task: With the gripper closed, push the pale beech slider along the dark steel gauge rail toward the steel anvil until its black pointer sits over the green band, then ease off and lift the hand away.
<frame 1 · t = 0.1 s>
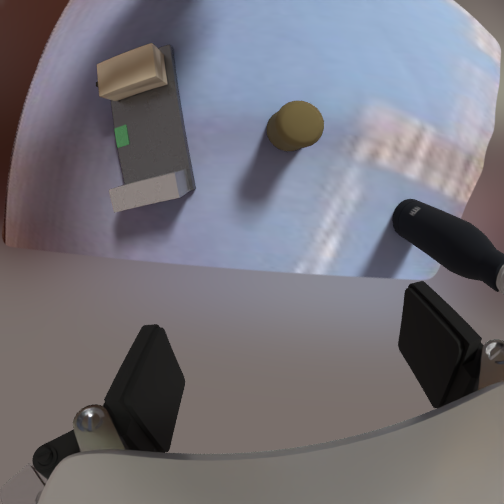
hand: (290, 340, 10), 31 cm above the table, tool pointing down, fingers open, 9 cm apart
black water bottle: (408, 217, 40), on the table
olive brown pawn: (288, 130, 36), on the table
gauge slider: (128, 74, 29), point 4 cm above the table, slide at 0.0 cm
gauge rail: (149, 122, 35), on the table
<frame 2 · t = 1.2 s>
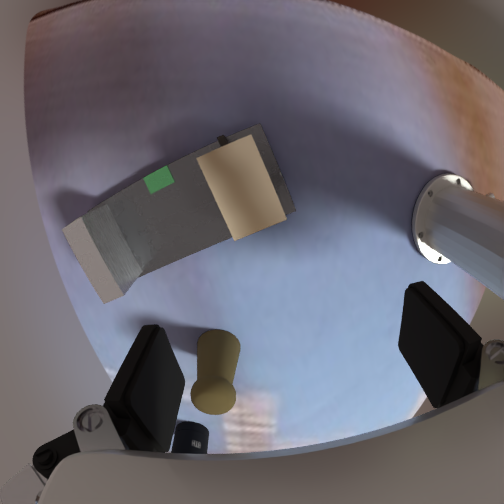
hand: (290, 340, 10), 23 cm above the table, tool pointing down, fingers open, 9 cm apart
black water bottle: (192, 429, 45), on the table
olive brown pawn: (218, 345, 38), on the table
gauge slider: (240, 180, 26), point 4 cm above the table, slide at 0.0 cm
gauge rail: (185, 206, 31), on the table
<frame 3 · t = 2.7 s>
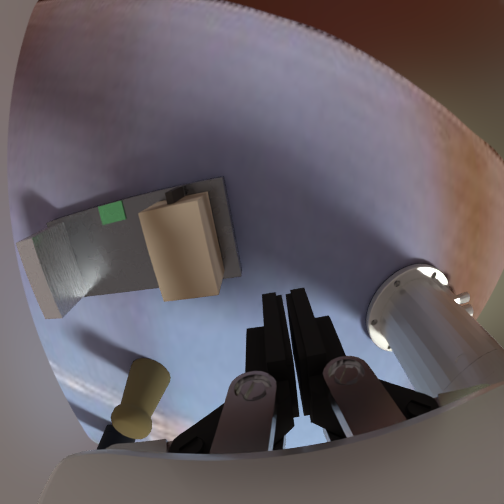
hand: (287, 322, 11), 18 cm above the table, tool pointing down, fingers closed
black water bottle: (120, 432, 43), on the table
olive brown pawn: (150, 372, 36), on the table
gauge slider: (184, 239, 24), point 4 cm above the table, slide at 0.0 cm
gauge rail: (135, 242, 29), on the table
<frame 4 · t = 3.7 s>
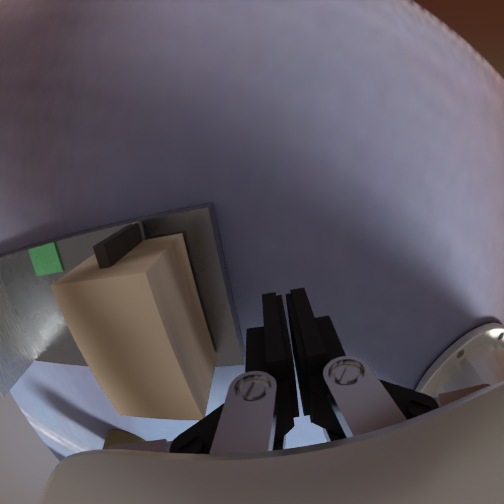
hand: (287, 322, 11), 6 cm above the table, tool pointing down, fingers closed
olive brown pawn: (131, 443, 24), on the table
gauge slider: (141, 323, 13), point 4 cm above the table, slide at 0.0 cm
gauge rail: (85, 301, 18), on the table
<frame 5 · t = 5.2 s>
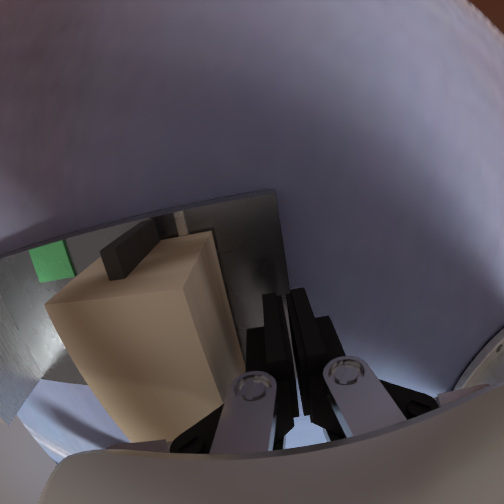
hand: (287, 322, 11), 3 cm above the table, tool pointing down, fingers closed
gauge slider: (163, 344, 10), point 4 cm above the table, slide at 1.3 cm, touching gripper
gauge rail: (101, 311, 15), on the table
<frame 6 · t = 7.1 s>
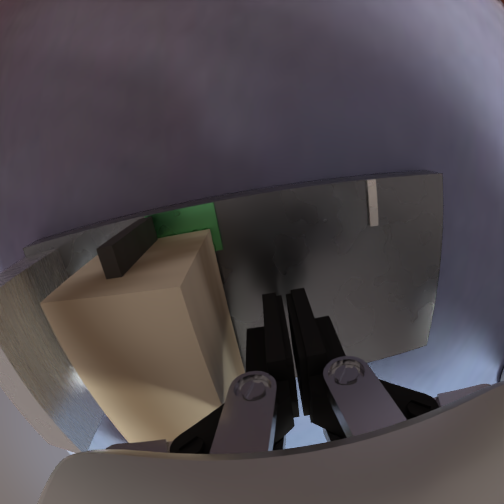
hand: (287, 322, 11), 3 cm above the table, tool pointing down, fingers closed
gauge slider: (160, 344, 10), point 4 cm above the table, slide at 9.3 cm, touching gripper
gauge rail: (228, 295, 14), on the table
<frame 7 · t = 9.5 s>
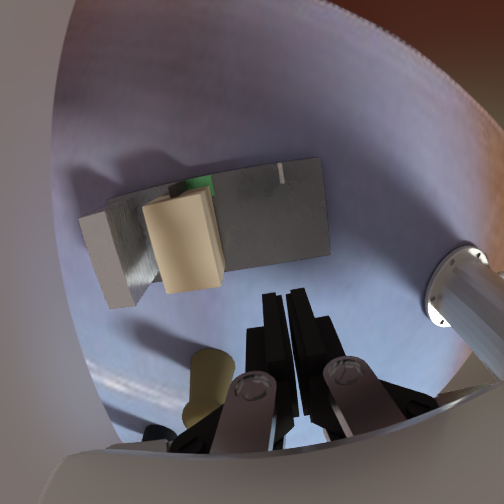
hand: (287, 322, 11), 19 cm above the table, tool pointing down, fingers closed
black water bottle: (161, 432, 43), on the table
olive brown pawn: (213, 363, 36), on the table
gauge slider: (186, 233, 25), point 4 cm above the table, slide at 9.3 cm
gauge rail: (217, 221, 29), on the table
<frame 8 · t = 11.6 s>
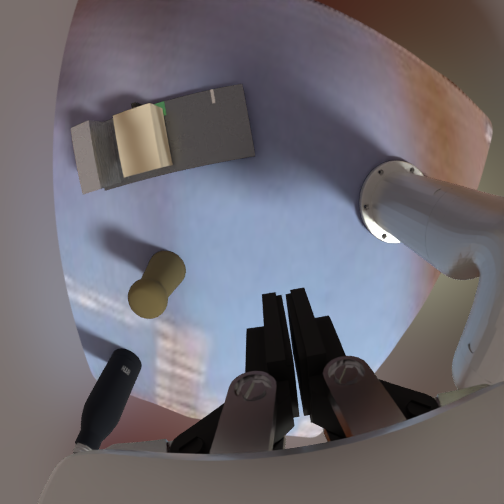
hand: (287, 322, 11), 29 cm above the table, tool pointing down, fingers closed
black water bottle: (127, 360, 49), on the table
olive brown pawn: (167, 268, 42), on the table
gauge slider: (142, 136, 31), point 4 cm above the table, slide at 9.3 cm
gauge rail: (169, 137, 35), on the table
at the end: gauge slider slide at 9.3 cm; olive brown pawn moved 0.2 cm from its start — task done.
